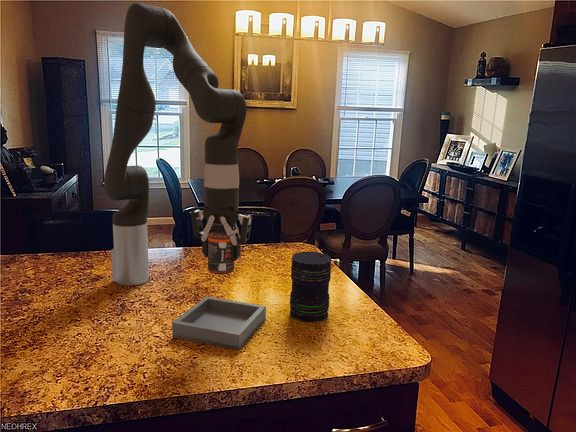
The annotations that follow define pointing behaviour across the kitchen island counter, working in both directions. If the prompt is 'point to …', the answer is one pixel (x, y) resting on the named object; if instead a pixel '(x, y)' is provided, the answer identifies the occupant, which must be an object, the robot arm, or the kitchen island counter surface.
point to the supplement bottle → (219, 251)
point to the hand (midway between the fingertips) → (221, 258)
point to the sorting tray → (219, 322)
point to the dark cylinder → (310, 286)
